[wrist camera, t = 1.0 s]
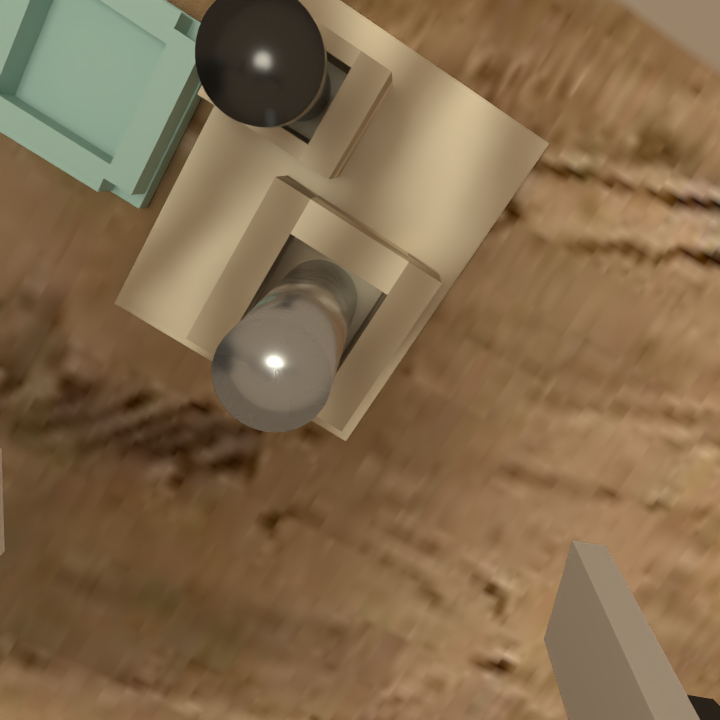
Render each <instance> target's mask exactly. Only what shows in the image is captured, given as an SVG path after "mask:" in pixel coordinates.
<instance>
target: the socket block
mask: <svg viewBox="0 0 720 720" xmlns="http://www.w3.org/2000/svg"><path fill="white" fill-rule="evenodd" d="M298 1H299V2H300V3H301V4H302V5H303V6H304V7H305V8H306V9H307V11H308V12H309V13H310V15H311V16H312V18H313V20H314V21H315V23H316V25H317V26H318V28H319V30H320V32H321V35H322V37H323V40H324V43H325V47H326V53H327V72H328V75H329V78H330V82H331V95H330V99H329V102H328V104H327V106H326V107H325V109H324V110H323V111H322V113H321V114H319V115H318V116H317V117H315V118H313V119H311V120H308V121H295V122H293V123H291V124H288V125H285V126H282V127H277V128H259V127H255V126H251V125H247V124H243V123H241V122H238V121H236V120H234V119H232V118H230V117H229V116H227V115H226V114H224V113H223V112H222V111H221V110H220V109H219V108H218V107H216V106H215V104H214V103H213V102H212V101H211V100H210V98H209V97H208V95H207V94H206V92H205V90H204V88H203V86H201V88H200V90H199V92H198V95H199V96H201V97H202V98H204V99H205V100H207V101H209V102H210V103H212V104H213V105H214V107H213V109H212V111H211V113H210V115H209V117H208V119H207V121H206V123H205V125H204V127H203V129H202V131H201V133H200V135H199V137H198V139H197V141H196V143H195V145H194V147H193V149H192V151H191V153H190V155H189V157H188V159H187V161H186V163H185V165H184V167H183V169H182V171H181V173H180V175H179V177H178V179H177V181H176V183H175V185H174V187H173V189H172V190H171V192H170V194H169V196H168V198H167V200H166V202H165V204H164V206H163V208H162V210H161V212H160V214H159V216H158V218H157V220H156V222H155V224H154V226H153V228H152V230H151V232H150V234H149V236H148V238H147V240H146V242H145V244H144V246H143V248H142V250H141V252H140V254H139V256H138V258H137V260H136V262H135V264H134V266H133V268H132V270H131V272H130V274H129V276H128V277H127V279H126V281H125V283H124V285H123V287H122V289H121V291H120V293H119V295H118V297H117V299H116V301H115V304H116V305H118V306H120V307H121V308H123V309H125V310H126V311H128V312H130V313H132V314H133V315H135V316H137V317H138V318H140V319H142V320H143V321H145V322H147V323H148V324H150V325H152V326H153V327H155V328H157V329H158V330H160V331H162V332H163V333H165V334H167V335H168V336H170V337H172V338H173V339H175V340H177V341H179V342H180V343H182V344H184V345H185V346H187V347H189V348H190V349H192V350H194V351H195V352H197V353H199V354H200V355H202V356H204V357H205V358H207V359H209V360H210V361H212V362H213V357H214V354H215V351H216V349H217V347H218V345H219V344H220V342H221V341H222V339H223V338H224V337H225V336H226V335H227V333H228V332H229V331H230V330H231V329H232V328H234V327H235V326H236V325H237V324H238V323H239V322H240V321H241V320H242V319H243V318H244V317H245V316H246V315H247V314H248V313H249V312H250V311H251V310H252V309H253V308H254V307H255V306H256V305H257V304H258V303H259V302H260V301H261V300H262V299H263V298H264V297H265V296H266V295H267V294H268V293H269V292H270V291H271V290H272V289H273V288H274V287H275V286H276V285H277V284H278V283H279V282H280V281H281V280H282V279H283V278H284V277H285V276H286V275H287V274H288V273H289V272H290V271H291V270H292V269H293V268H295V267H296V266H297V265H299V264H301V263H303V262H306V261H309V260H326V261H330V262H333V263H335V264H337V265H339V266H340V267H341V268H343V269H344V270H345V271H346V272H347V273H348V274H349V276H350V277H351V279H352V280H353V283H354V285H355V288H356V293H357V305H356V309H355V312H354V316H353V319H352V322H351V325H350V329H349V332H348V335H347V339H346V342H345V345H344V348H343V352H342V355H341V358H340V362H339V365H338V368H337V371H336V375H335V378H334V381H333V385H332V388H331V391H330V394H329V397H328V400H327V402H326V404H325V405H324V407H323V409H322V410H321V411H320V413H319V414H318V415H317V416H316V417H315V418H314V419H312V420H311V421H313V422H314V423H316V424H318V425H319V426H321V427H323V428H324V429H326V430H328V431H330V432H331V433H333V434H335V435H336V436H338V437H340V438H341V439H343V440H345V441H346V440H347V439H348V437H349V436H350V434H351V433H352V431H353V430H354V428H355V427H356V425H357V424H358V423H359V421H360V420H361V418H362V417H363V415H364V414H365V412H366V411H367V409H368V408H369V406H370V405H371V404H372V402H373V401H374V399H375V398H376V396H377V395H378V393H379V392H380V390H381V389H382V387H383V386H384V384H385V383H386V382H387V380H388V379H389V377H390V376H391V374H392V373H393V371H394V370H395V368H396V367H397V365H398V364H399V363H400V361H401V360H402V358H403V357H404V355H405V354H406V352H407V351H408V349H409V348H410V346H411V345H412V344H413V342H414V341H415V339H416V338H417V336H418V335H419V333H420V332H421V330H422V329H423V327H424V326H425V324H426V323H427V322H428V320H429V319H430V317H431V316H432V314H433V313H434V311H435V310H436V308H437V307H438V305H439V304H440V303H441V301H442V300H443V298H444V297H445V295H446V294H447V292H448V291H449V289H450V288H451V286H452V285H453V284H454V282H455V281H456V279H457V278H458V276H459V275H460V273H461V272H462V270H463V269H464V267H465V266H466V264H467V263H468V262H469V260H470V259H471V257H472V256H473V254H474V253H475V251H476V250H477V248H478V247H479V245H480V244H481V243H482V241H483V240H484V238H485V237H486V235H487V234H488V232H489V231H490V229H491V228H492V226H493V225H494V224H495V222H496V221H497V219H498V218H499V216H500V215H501V213H502V212H503V210H504V209H505V207H506V206H507V204H508V203H509V202H510V200H511V199H512V197H513V196H514V194H515V193H516V191H517V190H518V188H519V187H520V185H521V184H522V183H523V181H524V180H525V178H526V177H527V175H528V174H529V172H530V171H531V169H532V168H533V166H534V165H535V164H536V162H537V161H538V159H539V158H540V156H541V155H542V153H543V152H544V150H545V149H546V147H547V146H548V144H549V143H548V142H546V141H545V140H543V139H542V138H540V137H539V136H537V135H536V134H535V133H533V132H532V131H530V130H529V129H527V128H526V127H524V126H523V125H521V124H520V123H518V122H517V121H516V120H514V119H513V118H511V117H510V116H508V115H507V114H505V113H504V112H502V111H501V110H500V109H498V108H497V107H495V106H494V105H492V104H491V103H489V102H488V101H486V100H485V99H483V98H482V97H481V96H479V95H478V94H476V93H475V92H473V91H472V90H470V89H469V88H467V87H466V86H464V85H463V84H462V83H460V82H459V81H457V80H456V79H454V78H453V77H451V76H450V75H448V74H447V73H446V72H444V71H443V70H441V69H440V68H438V67H437V66H435V65H434V64H432V63H431V62H429V61H428V60H427V59H425V58H424V57H422V56H421V55H419V54H418V53H416V52H415V51H413V50H412V49H410V48H409V47H408V46H406V45H405V44H403V43H402V42H400V41H399V40H397V39H396V38H394V37H393V36H392V35H390V34H389V33H387V32H386V31H384V30H383V29H381V28H380V27H378V26H377V25H375V24H374V23H373V22H371V21H370V20H368V19H367V18H365V17H364V16H362V15H361V14H359V13H358V12H356V11H355V10H354V9H352V8H351V7H349V6H348V5H346V4H345V3H343V2H342V1H340V0H298Z"/></svg>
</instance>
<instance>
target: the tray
mask: <svg viewBox="0 0 720 720" xmlns="http://www.w3.org/2000/svg"><path fill="white" fill-rule="evenodd" d="M200 24H201V23H200V22H198V21H197V20H195V19H194V18H192V17H191V16H189V15H188V14H186V13H185V12H183V11H182V10H180V9H179V8H177V7H176V6H174V5H173V4H171V3H170V2H168V1H167V0H0V132H1V133H3V134H5V135H6V136H8V137H9V138H11V139H13V140H14V141H16V142H18V143H19V144H21V145H22V146H24V147H26V148H27V149H29V150H31V151H32V152H34V153H35V154H37V155H39V156H40V157H42V158H44V159H45V160H47V161H48V162H50V163H52V164H53V165H55V166H57V167H58V168H60V169H61V170H63V171H65V172H66V173H68V174H70V175H71V176H73V177H74V178H76V179H78V180H79V181H81V182H83V183H84V184H86V185H87V186H89V187H91V188H92V189H94V190H95V191H97V192H100V191H111V192H113V193H114V194H116V195H118V196H119V197H121V198H122V199H124V200H126V201H127V202H129V203H130V204H132V205H134V206H135V207H137V208H139V209H140V208H146V207H148V205H149V203H150V201H151V199H152V197H153V195H154V193H155V191H156V189H157V187H158V185H159V183H160V181H161V179H162V177H163V175H164V173H165V171H166V169H167V167H168V165H169V163H170V161H171V159H172V157H173V155H174V153H175V151H176V149H177V147H178V145H179V143H180V141H181V139H182V137H183V135H184V133H185V131H186V129H187V126H188V124H189V122H190V120H191V118H192V116H193V114H194V112H195V110H196V108H197V106H198V104H199V102H200V100H201V98H202V97H201V96H199V95H198V92H199V90H200V88H201V86H202V84H201V82H200V79H199V76H198V73H197V68H196V62H195V43H196V36H197V33H198V29H199V26H200Z"/></svg>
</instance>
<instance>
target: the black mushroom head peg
mask: <svg viewBox="0 0 720 720" xmlns="http://www.w3.org/2000/svg"><path fill="white" fill-rule="evenodd" d="M195 62H196V68H197V73H198V76H199V79H200V82H201V84H202V86H203V88H204V90H205V92H206V94H207V95H208V97H209V98H210V100H211V101H212V102H213V103H214V104H215V106H216V107H218V108H219V109H220V110H221V111H222V112H223V113H224V114H226V115H227V116H229V117H230V118H232V119H234V120H236V121H238V122H241V123H243V124H247V125H251V126H255V127H259V128H277V127H282V126H285V125H288V124H291V123H293V122H295V121H308V120H311V119H313V118H315V117H317V116H318V115H319V114H321V113H322V111H323V110H324V109H325V107H326V106H327V104H328V102H329V99H330V95H331V82H330V78H329V75H328V72H327V53H326V47H325V43H324V40H323V37H322V35H321V32H320V30H319V28H318V26H317V25H316V23H315V21H314V20H313V18H312V16H311V15H310V13H309V12H308V11H307V9H306V8H305V7H304V6H303V5H302V4H301V3H300V2H299V1H298V0H216V1H215V2H214V3H213V4H212V5H211V7H210V8H209V9H208V11H207V12H206V14H205V15H204V17H203V19H202V21H201V24H200V26H199V29H198V33H197V36H196V43H195Z"/></svg>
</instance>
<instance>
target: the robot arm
mask: <svg viewBox="0 0 720 720" xmlns="http://www.w3.org/2000/svg"><path fill="white" fill-rule="evenodd" d="M4 551H5V548H4V517H3V486H2V454H1V448H0V555H1V554H2V553H3V552H4ZM544 641H545V644H546V647H547V651H548V654H549V657H550V661H551V664H552V667H553V671H554V674H555V677H556V680H557V684H558V687H559V690H560V694H561V697H562V700H563V704H564V707H565V710H566V714H567V717H568V720H720V706H719V705H718V704H717V703H716V702H715V701H714V700H713V699H709V698H703V697H696V696H690V695H686V693H685V691H684V689H683V687H682V685H681V683H680V682H679V680H678V678H677V676H676V674H675V672H674V670H673V669H672V667H671V665H670V663H669V661H668V659H667V657H666V656H665V654H664V652H663V650H662V648H661V646H660V644H659V643H658V641H657V639H656V637H655V635H654V633H653V631H652V630H651V628H650V626H649V624H648V622H647V620H646V618H645V617H644V615H643V613H642V611H641V609H640V607H639V605H638V604H637V602H636V600H635V598H634V596H633V594H632V592H631V591H630V589H629V587H628V585H627V583H626V581H625V580H624V578H623V576H622V574H621V572H620V570H619V568H618V567H617V565H616V563H615V561H614V559H613V557H612V555H611V554H610V552H609V550H608V548H607V546H605V545H599V544H593V543H586V542H580V541H574V540H572V544H571V547H570V551H569V554H568V558H567V561H566V565H565V568H564V571H563V575H562V578H561V582H560V585H559V589H558V592H557V596H556V599H555V603H554V606H553V610H552V613H551V617H550V620H549V623H548V627H547V630H546V634H545V637H544Z"/></svg>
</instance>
